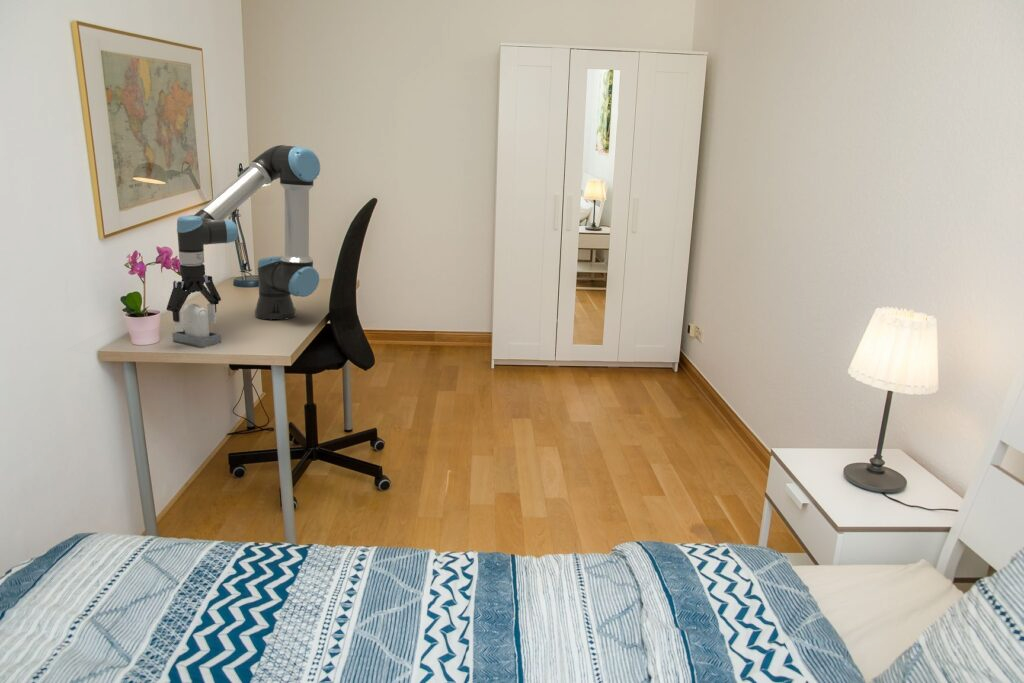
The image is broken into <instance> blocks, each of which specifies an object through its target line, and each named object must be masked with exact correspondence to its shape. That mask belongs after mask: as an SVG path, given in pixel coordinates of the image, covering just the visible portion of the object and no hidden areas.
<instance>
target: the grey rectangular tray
mask: <svg viewBox="0 0 1024 683" xmlns="http://www.w3.org/2000/svg"><path fill="white" fill-rule="evenodd" d="M221 335H222V334H221V333H218V332H213V331H209V337H205V338H202V339H201V338H196V337H192V336H187V335H185V329H183V331H182V332H180V331H174V332H172V342H173V343H179V344H183V345H187V346H191V347H196V348H200V349H203V347H204V348H207V347H210V345H211V346H215V345H218V344H220V343H222V336H221ZM206 346H207V347H206Z"/></svg>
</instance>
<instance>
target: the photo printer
mask: <svg viewBox="0 0 1024 683" xmlns="http://www.w3.org/2000/svg"><path fill="white" fill-rule="evenodd" d="M182 316H183V329H184V330H185V335H187V336H192V337H196V338H201V339H202V338H205V337H209V332H210V326H209V322H208V310H207V309H206V308H204V307H203V306H202V305H200V304H198V303H190V304H189V303H188V304H186V305H185V306H184V307H183V311H182Z"/></svg>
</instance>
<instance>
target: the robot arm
mask: <svg viewBox="0 0 1024 683" xmlns="http://www.w3.org/2000/svg"><path fill="white" fill-rule="evenodd" d="M315 153H316V152H314V151H313V150H311V149H310V148H308V147H303V146H300V145H299V146H295V145H285V144H280V145H275V146H271V147H270V148H268V149H266V150H264V151H263V152H262V153H260V155H258V156H257V157H256V158H254V159H253V160H252V161H251V162H250V163H249V164H248V165H249V166H248V167H249V168H248V169H246V170H245V171H244V172H242V173H241V175H239V176H238V177H237V178H236V179H235V180H234V181H232V182H231V183H230V184H229V185H227V187H225V188H224V189H223V190H222V191H221V192H219V194H217V195H216V196H214V198H213V199H211V200H210V201H209V202H208V203H207V204H205V205H204V206H202V208H201V209H200V210H199V211H197V212H196V213H195V214H190V215H181V216H178V218H176V221H177V222H176V234H177V245H178V259H179V275H180V277H181V280H180V281H178V280H174V281H173V283H172V285H173V286H172V291H171V294H170V297H169V298H168V299H169V300H168V302H167V306H166V311H170V312H172V320H173V322H174V328H175V329H174V331H175V332H178V331H180V332H182V331H183V330H184V319H183V311H181V310H182V307H183V305H184V304H185V302H186V300H187V299H188V297H189V296H191V294H193V293H196V292H200V294H201V295H202V296H203V297H204V298H205V299H206V300H207V302H208V303H207V304H206V305H207V313H208V323H210V324H216V323H217V321H216V320H217V318H216V314H217V305H219V303H220V302H221V301H222V298H221V296H220V294H219V292H218V290H217V288H216V286H215V284H214V280H213V276H212V275H206V268H205V267H206V265H205V252H204V250H205V249H204V248H205V247H204V246H205V245H218V244H229V243H234V242H235V241H237V239H238V236H239V232H238V231H239V230H238V227H237V224H236V223H235V222H234V221H233V220H229V219H228V220H227V219H226V218H228V217H229V216H230V215H231V214H232V213H234V212H235V211H236V210H237V209H238V208H239V207H240V206H241V205H242V204H243V203H245V202H246V201H247V200H248V199H249V198H250V197H251V196H253V195H254V194H255V193H256V192H257V191H259V189H261V188H263V186H265V185H269V184H271V183H272V182H273V181H275V180H278V179H279V184H280V186H281V187H282V188H283V190H284V255H283V256H282V255H281V256H268V257H262V258H259V260H258V261H257V276H258V277H257V279H258V299H257V303H256V307H255V309H254V317H255V316H256V317H255V318H257V317H258V318H257V319H259V318H262V319H261V320H264V319H270V320H269V321H273V320H272V319H284V320H287V319H286V318H289V319H293V318H294V316H295V315H296V316H297V312H296V310H297V309H296V308H295V306H294V303H293V300H292V296H293V297H299V298H300V297H301V298H305V297H309V296H310V295H312V294H313V293H314V292H315V291H316V290H317V288H318V287H319V283H320V275H319V272H318V271H317V269H315V268H314V260H313V258H312V257H310V190H311V189H312V188H313V187H314V180H316V179H318V176H319V175H320V172H321V164H320V160H319V158H318V155H317V154H315ZM225 219H226V220H225ZM204 284H205V285H204ZM296 316H295V317H296ZM292 317H293V318H292Z"/></svg>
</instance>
